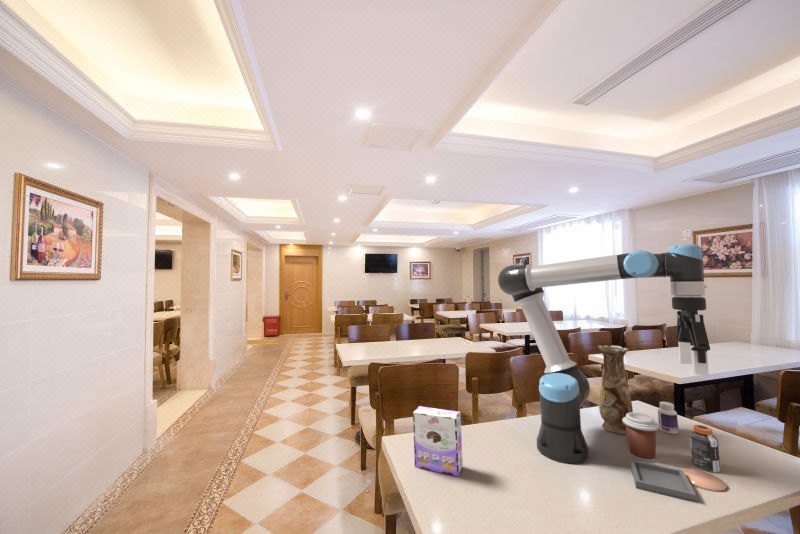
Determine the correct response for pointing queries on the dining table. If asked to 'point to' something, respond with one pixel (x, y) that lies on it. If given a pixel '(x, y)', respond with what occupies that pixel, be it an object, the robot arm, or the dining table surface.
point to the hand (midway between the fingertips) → (693, 368)
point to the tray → (662, 480)
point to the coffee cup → (641, 436)
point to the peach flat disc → (704, 480)
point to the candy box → (438, 440)
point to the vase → (614, 389)
